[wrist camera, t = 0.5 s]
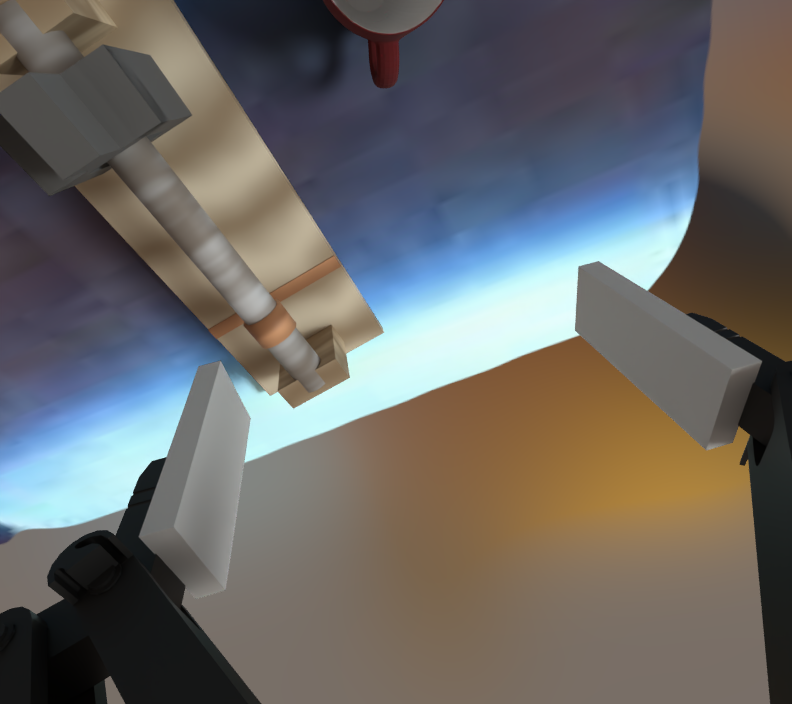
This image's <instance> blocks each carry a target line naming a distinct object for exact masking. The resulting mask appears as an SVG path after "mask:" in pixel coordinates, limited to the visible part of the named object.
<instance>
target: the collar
mask: <svg viewBox="0 0 792 704" xmlns="http://www.w3.org/2000/svg"><path fill="white" fill-rule="evenodd" d="M0 114H1V116H0V146H1V147H2V148H3V149H4V150H5V151H6V152H7V153H8V154H9V155H10V156H11V157H12V158H13V159H14V160H15V161H16V162H17V163H18V164H19V165H20V167H21V168H22V169H23V170H24V171H25V172H26V173H27V174H28V175H29V176H30V177H31V178H32V179H33V180H34V181H35V182H36V183H37V184H38V185H39V186H40V187H41V188H42V189H43V190H44V191H45V192H46V193H47V194H48V195H49V196H51V195H53V194H56V193H58V192H61V191H63V190H65V189H68V188H70V187H73V186H75V185H77V184H80V183H82V182H85V181H87V180H89V179H92V178H94V177H97V176H99V175H102V174H104V173H105V172H107V171H108V170H110V169H111V167H110V165H109V164H108V163H107V161H109V160H110V159H112V158H113V157H115V156H117V155H118V154H120V153H121V152H123V151H124V150H126V149H127V148H129V147H130V146H132V145H133V144H135V143H136V142H138V141H139V140H141V139H142V138H144V137H145V136H147V138H148V139H149V140H150V142H153V141H154V140H156V139H157V138H159V137H160V136H162V135H163V134H165V133H166V132H168V131H169V130H171V129H172V128H174V127H175V126H177V125H178V124H180V123H182V122H183V121H185V120H186V119H188V118H189V117H191V116H192V114H191V112H190V111H189V109H188V108H187V107H186V105H185V104H184V102H183V101H182V99H181V98H180V97H179V95H178V94H177V92H176V91H175V90H174V88H173V87H172V85H171V84H170V82H169V81H168V80H167V78H166V77H165V75H164V74H163V73H162V71H161V70H160V68H159V67H158V65H157V64H156V63H155V61H154V60H153V58H152V57H151V56H150V55H148V54H143V53H139V52H135V51H130V50H126V49H121V48H117V47H112V46H108V45H103V44H102V45H101V46H100V47H98V48H97V49H95V50H94V51H92V52H91V53H90V54H88V55H87V56H85V57H84V58H82V59H81V60H80V61H78V62H77V63H75V64H74V65H72V66H71V67H69V68H68V69H67V70H65V71H64V72H62V73H61V74H46V73H30V72H28V73H27V74H25V75H24V76H22V77H21V78H20V79H18V80H17V81H15V82H14V83H13V84H11V85H10V86H8V87H7V88H5V89H4V90H3V91H1V92H0Z"/></svg>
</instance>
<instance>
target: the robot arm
mask: <svg viewBox="0 0 792 704" xmlns="http://www.w3.org/2000/svg"><path fill="white" fill-rule="evenodd" d="M575 331H576V332H577V333H578V334H580V335H581V336H582V337H583V338H584V339H585V340H586V341H587V342H588V343H589V344H591V345H592V346H593V347H594V348H595V349H596V350H597V351H598V352H599V353H600V354H601V355H603V356H604V357H605V358H606V359H607V360H608V361H609V362H610V363H611V364H612V365H614V366H615V367H616V368H617V369H618V370H619V371H620V372H621V373H622V374H623V375H624V376H626V377H627V378H628V379H629V380H630V381H631V382H632V383H633V384H634V385H635V386H637V387H638V388H639V389H640V390H641V391H642V392H643V393H644V394H645V395H646V396H647V397H649V398H650V399H651V400H652V401H653V402H654V403H655V404H656V405H657V406H658V407H660V408H661V409H662V410H663V411H664V412H665V413H666V414H667V415H668V416H669V417H670V418H672V419H673V420H674V421H675V422H676V423H677V424H678V425H679V426H680V427H681V428H683V429H684V430H685V431H686V432H687V433H688V434H689V435H690V436H691V437H692V438H693V439H695V440H696V441H697V442H698V443H699V444H700V445H701V446H702V447H703V448H705V449H706V450H709V449H712V448H716V447H719V446H723V445H726V444H730V443H733V440H734V437H735V435H736V432H737V429H738V427H739V426H740V427H741V428H742V429H743V430H745V431H746V432H747V433H749V434H750V438H749V440H748V442H747V445H746V448H745V450H744V453H743V455H742V458H741V461H740V465H745V464H746V461H747V460H749V472H750V483H751V493H752V505H753V517H754V527H755V539H756V550H757V561H758V572H759V582H760V595H761V606H762V617H763V628H764V639H765V651H766V662H767V673H768V684H769V695H770V704H792V361H788V362H785V361H783V360H782V359H780V358H778V357H776V356H775V355H773V354H771V353H770V352H768V351H766V350H765V349H763V348H761V347H759V346H758V345H756V344H754V343H753V342H751V341H749V340H747V339H746V338H744V337H740V336H739V334H737V333H735V332H734V331H732V330H730V329H729V330H727V328H726V327H725V326H723V325H721V324H720V323H718V322H716V321H715V320H713V319H711V318H708V317H704V316H701V315H698V314H695V313H689V314H684V313H682V312H681V311H679V310H678V309H676V308H674V307H672V306H671V305H669V304H668V303H666V302H664V301H663V300H661V299H659V298H658V297H656V296H655V295H653V294H651V293H650V292H648V291H646V290H645V289H643V288H641V287H640V286H638V285H637V284H635V283H633V282H632V281H630V280H628V279H627V278H625V277H623V276H622V275H620V274H618V273H617V272H615V271H614V270H612V269H610V268H609V267H607V266H605V265H604V264H602V263H600V262H599V261H598V262H594V263H590V264H586V265H582V266H579V268H578V286H577V304H576V322H575ZM250 419H251V418H250V416H249V414H248V412H247V410H246V409H245V407H244V405H243V403H242V401H241V399H240V397H239V395H238V393H237V391H236V389H235V387H234V385H233V384H232V382H231V380H230V378H229V376H228V374H227V372H226V370H225V368H224V366H223V364H222V362H221V361H217V362H214V363H210V364H206V365H202V366H199V367H198V370H197V373H196V375H195V378H194V381H193V384H192V387H191V390H190V393H189V395H188V398H187V401H186V404H185V407H184V410H183V412H182V415H181V418H180V421H179V424H178V427H177V429H176V432H175V435H174V438H173V441H172V444H171V446H170V449H169V452H168V455H167V457H166V458H162V459H158V460H155V461H152V462H151V463H150V464H149V465H148V467H147V468H146V469H145V470H144V472H143V473H142V474H141V475H140V477H139V479H138V481H137V484H136V486H135V489H134V491H133V496H131V499H130V501H129V504H128V509H126V511H125V513H124V516H123V518H122V521H121V523H120V526H119V529H118V531H117V533H116V536H115V535H114V534H113V533H111V532H109V531H107V530H102V531H101V530H100V531H95V532H92V533H89V534H87V535H84V536H83V537H81V538H79V539H78V540H77V541H75V542H73V543H72V544H71V545H69V546H68V547H67V548H66V549H65V550H64V551H63V552H62V553H61V554H60V555H59V556H58V558H57V559H56V560H55V562H54V563H53V564H52V566H51V569H50V571H49V574H48V576H47V579H48V586H49V587H50V588H52V589H53V590H54V591H56V592H57V593H58V594H59V595H61V596H62V597H63V598H64V599H63V600H62V601H60V602H58V603H56V604H54V605H53V606H51V607H49V608H47V609H45V610H44V611H42V612H40V613H38V614H35V613H33V612H32V611H30V610H29V609H26V608H24V607H17V608H12V609H9V610H7V611H5V612H3V613H1V614H0V704H107V697H106V688H105V680H104V679H106V678H107V677H109V676H111V678H112V679H113V681H114V683H115V685H116V687H117V689H118V691H119V693H120V695H121V696H122V698H123V700H124V702H125V704H261V703H260V701H259V700H258V699H257V698H256V696H255V695H254V694H253V693H252V692H251V690H250V689H249V688H248V686H247V685H246V684H245V683H244V681H243V680H242V679H241V678H240V676H239V675H238V674H237V673H236V671H235V670H234V669H233V667H232V666H231V665H230V664H229V663H228V661H227V660H226V659H225V657H224V656H223V655H222V654H221V652H220V651H219V650H218V649H217V647H216V646H215V645H214V644H213V642H212V641H211V640H210V639H209V637H208V636H207V635H206V633H205V632H204V631H203V630H202V628H201V627H200V626H199V625H198V623H197V622H196V621H195V620H194V618H193V617H192V616H191V615H190V613H189V612H188V611H187V610H186V609H185V607H184V606H183V605H182V599H183V595H184V591H185V588H186V589H187V590H188V591H189V592H190V593H191V595H192V596H193V597H194V598H195V599H198V598H201V597H205V596H208V595H211V594H215V593H218V592H221V591H225V590H226V584H227V576H228V570H229V563H230V557H231V549H232V542H233V535H234V529H235V522H236V514H237V508H238V501H239V495H240V487H241V481H242V474H243V467H244V460H245V453H246V446H247V439H248V433H249V426H250Z"/></svg>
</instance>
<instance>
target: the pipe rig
mask: <svg viewBox="0 0 792 704" xmlns="http://www.w3.org/2000/svg"><path fill="white" fill-rule="evenodd" d="M102 44H103V45H108V46H112V47H117V48H121V49H126V50H130V51H135V52H139V53H143V54H148V55H150V56H151V57H152V58H153V60H154V61H155V63H156V64H157V65H158V67H159V68H160V70H161V71H162V73H163V74H164V75H165V77H166V78H167V80H168V81H169V82H170V84H171V85H172V87H173V88H174V90H175V91H176V92H177V94H178V95H179V97H180V98H181V99H182V101H183V102H184V104H185V105H186V107H187V108H188V109H189V111H190V112H191V114H192V116H191V117H189V118H188V119H186V120H185V121H183V122H182V123H180V124H178V125H177V126H175V127H174V128H172V129H171V130H169V131H168V132H166V133H165V134H163V135H162V136H160V137H159V138H157V139H156V140H154V141H153V142H150V140H149V139H148V138H147V136H145V137H144V138H142V139H141V140H139V141H138V142H136V143H135V144H133V145H132V146H130V147H129V148H127V149H126V150H124V151H123V152H121V153H120V154H118V155H117V156H115V157H113V158H112V159H110V160H109V161H107V163H108V164H109V165H110V167H111V169H110V170H108V171H107V172H105V173H104V174H102V175H99V176H97V177H94V178H92V179H89V180H87V181H85V182H82V183H80V184H77V185H75V187H76V188H77V189H78V190H79V191H80V192H81V193H82V195H83V196H84V197H85V198H86V199H87V200H88V201H89V202H90V203H91V204H92V205H93V206H94V207H95V208H96V210H97V211H98V212H99V213H100V214H101V215H102V216H103V217H104V218H105V219H106V220H107V221H108V222H109V223H110V225H111V226H112V227H113V228H114V229H115V230H116V231H117V232H118V233H119V234H120V235H121V236H122V237H123V238H124V240H125V241H126V242H127V243H128V244H129V245H130V246H131V247H132V248H133V249H134V250H135V251H136V252H137V253H138V255H139V256H140V257H141V258H142V259H143V260H144V261H145V262H146V263H147V264H148V265H149V266H150V267H151V268H152V270H153V271H154V272H155V273H156V274H157V275H158V276H159V277H160V278H161V279H162V280H163V281H164V282H165V283H166V285H167V286H168V287H169V288H170V289H171V290H172V291H173V292H174V293H175V294H176V295H177V296H178V297H179V298H180V300H181V301H182V302H183V303H184V304H185V305H186V306H187V307H188V308H189V309H190V310H191V311H192V312H193V313H194V315H195V316H196V317H197V318H198V319H199V320H200V321H201V322H202V323H203V324H204V325H205V326H206V327H207V328H208V330H209V331H210V333H211V334H212V335H213V336H214V337H215V338H216V339H218V340H219V341H220V342H221V343H222V345H223V346H224V347H225V348H226V349H227V350H228V351H229V352H230V353H231V354H232V355H233V356H234V357H235V359H236V360H237V361H238V362H239V363H240V364H241V365H242V366H243V367H244V368H245V369H246V370H247V371H248V372H249V374H250V375H251V376H252V377H253V378H254V379H255V380H256V381H257V382H258V383H259V384H260V385H261V386H262V387H263V389H264V390H265V391H266V392H267V393H268V394H269V395H270V396H271V395H273V394H274V393H276V392H279V393H280V394H281V395H282V397H283V398H284V399H285V400H286V401H287V402H288V403H289V404H290V405H291V406H292V408H295V407H297V406H299V405H301V404H303V403H304V402H306V401H308V400H310V399H312V398H314V397H315V396H317V395H319V394H321V393H323V392H324V391H326V390H328V389H330V388H332V387H334V386H335V385H337V384H339V383H341V382H343V381H344V380H346V379H348V378H350V376H349V370H348V363H347V357H346V353H348V352H350V351H352V350H353V349H355V348H357V347H359V346H361V345H362V344H364V343H366V342H368V341H370V340H371V339H373V338H375V337H377V336H379V335H380V334H382V333H384V331H383V328H382V326H381V325H380V323H379V321H378V320H377V318H376V317H375V315H374V314H373V312H372V310H371V309H370V307H369V306H368V304H367V303H366V301H365V299H364V298H363V296H362V295H361V293H360V292H359V290H358V288H357V287H356V285H355V284H354V282H353V281H352V279H351V278H350V276H349V274H348V273H347V271H346V270H345V268H344V267H343V265H342V263H341V262H340V260H339V259H338V257H337V256H336V254H335V252H334V251H333V249H332V248H331V246H330V245H329V243H328V242H327V240H326V238H325V237H324V235H323V234H322V232H321V231H320V229H319V227H318V226H317V224H316V223H315V221H314V220H313V218H312V216H311V215H310V213H309V212H308V210H307V209H306V207H305V205H304V204H303V202H302V201H301V199H300V198H299V196H298V195H297V193H296V191H295V190H294V188H293V187H292V185H291V184H290V182H289V180H288V179H287V177H286V176H285V174H284V173H283V171H282V169H281V168H280V166H279V165H278V163H277V162H276V160H275V158H274V157H273V155H272V154H271V152H270V151H269V149H268V148H267V146H266V144H265V143H264V141H263V140H262V138H261V137H260V135H259V133H258V132H257V130H256V129H255V127H254V126H253V124H252V122H251V121H250V119H249V118H248V116H247V115H246V113H245V112H244V110H243V108H242V107H241V105H240V104H239V102H238V101H237V99H236V97H235V96H234V94H233V93H232V91H231V90H230V88H229V86H228V85H227V83H226V82H225V80H224V79H223V77H222V75H221V74H220V72H219V71H218V69H217V68H216V66H215V65H214V63H213V61H212V60H211V58H210V57H209V55H208V54H207V52H206V50H205V49H204V47H203V46H202V44H201V43H200V41H199V39H198V38H197V36H196V35H195V33H194V32H193V30H192V29H191V27H190V25H189V24H188V22H187V21H186V19H185V18H184V16H183V14H182V13H181V11H180V10H179V8H178V7H177V5H176V3H175V2H174V0H0V92H1V91H3V90H4V89H5V88H7V87H8V86H10V85H11V84H13V83H14V82H15V81H17V80H18V79H20V78H21V77H22V76H24V75H25V74H27V73H28V72H30V73H46V74H61V73H62V72H64V71H65V70H67V69H68V68H69V67H71V66H72V65H74V64H75V63H77V62H78V61H80V60H81V59H82V58H84V57H85V56H87V55H88V54H90V53H91V52H92V51H94V50H95V49H97V48H98V47H100V46H101V45H102Z"/></svg>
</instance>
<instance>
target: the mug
mask: <svg viewBox="0 0 792 704" xmlns="http://www.w3.org/2000/svg"><path fill="white" fill-rule="evenodd" d="M443 1H444V0H323V2H324V3H325V5H326V6H327V8H328V9H329V11H330V12H331V13H332V15H333V16H334V17H335V18H336V19H337V20H338V21H339V22H340V23H341V24H342V25H343V26H344V27H346V28H347V29H348V30H350V31H352V32H353V33H355V34H357V35H359V36H361V37H363V38H366V39H368V47H369V63H370V70H371V75H372V79H373V82H374V84H375V85H376V86H377V87H379V88H390V87H392V86H394V84H395V83H396V81H397V78H398V72H399V43H398V42H399V40H400V39H401V38H402V37H404V36H405V35H407V34H409V33H410V32H412V31H414V30H415V29H417V28H418V27H419V26H421V25H422V24H423V23H425V22H426V21H427V20H428V19H429V18H430V17H431V16H432V15H433V14H434V13H435V12H436V11H437V9H438V8H439V7H440V5H441V4H442V2H443Z"/></svg>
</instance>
